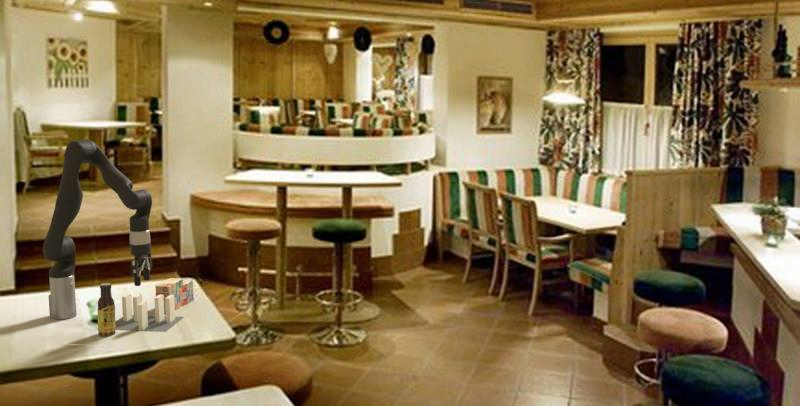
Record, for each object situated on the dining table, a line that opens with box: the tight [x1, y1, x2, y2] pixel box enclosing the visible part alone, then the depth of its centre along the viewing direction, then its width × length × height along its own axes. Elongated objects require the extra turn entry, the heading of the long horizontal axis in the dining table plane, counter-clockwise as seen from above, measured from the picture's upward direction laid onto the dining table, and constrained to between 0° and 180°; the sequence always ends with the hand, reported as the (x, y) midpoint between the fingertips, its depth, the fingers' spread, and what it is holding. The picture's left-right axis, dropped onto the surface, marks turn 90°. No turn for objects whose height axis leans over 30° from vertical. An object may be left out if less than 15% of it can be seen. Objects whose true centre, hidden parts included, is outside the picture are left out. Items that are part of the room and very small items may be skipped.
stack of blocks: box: [155, 277, 195, 314], centre depth 325 cm, size 21×6×12 cm, turn 169°
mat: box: [115, 314, 185, 333], centre depth 302 cm, size 25×19×1 cm
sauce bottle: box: [97, 282, 117, 338], centre depth 287 cm, size 7×6×20 cm
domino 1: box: [121, 292, 133, 321], centre depth 306 cm, size 2×5×10 cm, turn 175°
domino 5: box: [165, 295, 176, 323], centre depth 304 cm, size 2×5×10 cm, turn 175°
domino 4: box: [154, 295, 165, 322], centre depth 305 cm, size 2×5×10 cm, turn 175°
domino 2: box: [132, 293, 143, 321], centre depth 306 cm, size 2×5×10 cm, turn 175°
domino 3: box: [137, 300, 149, 330], centre depth 295 cm, size 2×5×10 cm, turn 175°
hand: (142, 282), depth 294 cm, fingers open, 8 cm apart
